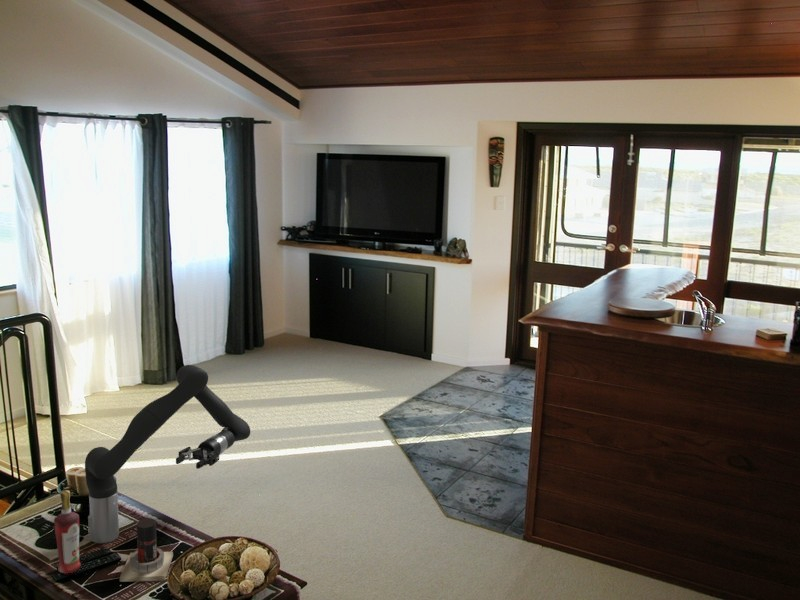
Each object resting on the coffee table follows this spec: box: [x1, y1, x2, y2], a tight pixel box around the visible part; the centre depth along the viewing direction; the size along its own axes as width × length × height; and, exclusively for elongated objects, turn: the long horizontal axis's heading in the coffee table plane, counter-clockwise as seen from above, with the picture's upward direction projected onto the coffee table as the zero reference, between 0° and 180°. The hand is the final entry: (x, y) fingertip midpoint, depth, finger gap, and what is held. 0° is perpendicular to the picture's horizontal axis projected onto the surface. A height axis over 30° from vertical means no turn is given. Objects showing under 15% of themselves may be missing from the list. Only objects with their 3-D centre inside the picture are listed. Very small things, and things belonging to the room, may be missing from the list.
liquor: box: [53, 489, 82, 575], centre depth 225 cm, size 7×7×28 cm
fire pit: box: [119, 547, 174, 583], centre depth 231 cm, size 14×14×5 cm
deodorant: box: [136, 517, 158, 563], centre depth 229 cm, size 6×6×15 cm
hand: (186, 463), depth 247 cm, fingers open, 8 cm apart
